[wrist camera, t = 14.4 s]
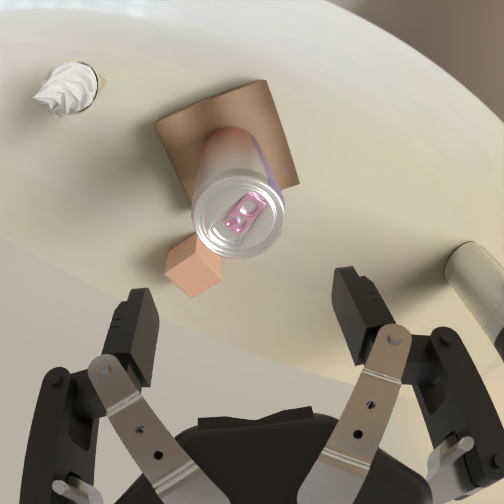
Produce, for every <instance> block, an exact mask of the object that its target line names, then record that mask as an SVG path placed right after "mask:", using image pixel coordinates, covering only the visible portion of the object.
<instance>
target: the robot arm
mask: <svg viewBox="0 0 504 504" xmlns="http://www.w3.org/2000/svg"><path fill="white" fill-rule="evenodd" d="M444 275H445V278H446V280H447V281H448V283H449V284H450V285H451V286H452V288H453V289H454V290H455V292H456V293H457V294H458V296H459V297H460V298H461V300H462V301H463V302H464V304H465V305H466V306H467V308H468V309H469V310H470V312H471V313H472V315H473V316H474V317H475V319H476V320H477V322H478V323H479V324H480V326H481V327H482V329H483V330H484V332H485V333H486V334H487V336H488V337H489V339H490V340H491V342H492V344H493V345H494V347H495V348H496V350H497V351H498V353H499V355H500V356H501V358H502V360H503V362H504V267H503V266H502V265H501V264H500V263H499V262H498V261H497V260H496V259H495V258H494V257H493V256H492V255H491V254H490V253H489V252H488V251H487V250H486V249H485V248H484V247H480V246H479V245H478V244H477V243H476V242H468V243H465V244H463V245H462V246H460V247H459V248H458V249H457V250H456V251H455V252H454V253H453V254H452V255H451V257H450V258H449V260H448V262H447V264H446V267H445V273H444ZM332 305H333V309H334V311H335V314H336V316H337V319H338V321H339V324H340V327H341V329H342V332H343V334H344V337H345V340H346V342H347V345H348V348H349V350H350V353H351V356H352V358H353V361H354V364H355V366H357V365H361V364H364V366H365V367H364V369H363V370H362V372H361V374H360V377H359V379H358V381H357V383H356V386H355V388H354V390H353V392H352V394H351V396H350V398H349V401H348V403H347V405H346V407H345V409H344V411H343V413H342V415H341V417H340V419H339V420H338V419H336V418H333V417H331V416H328V415H324V414H319V413H313V411H312V407H311V406H308V407H302V408H297V409H289V410H283V411H281V412H278V413H275V414H272V415H270V416H267V417H264V418H261V419H258V420H247V419H239V418H232V417H226V416H225V417H208V418H198V425H197V426H194V427H191V428H188V429H187V430H185V431H183V432H181V433H180V434H179V435H177V436H176V437H175V438H174V437H173V436H172V435H171V434H170V432H169V431H168V430H167V429H166V427H165V426H164V425H163V424H162V422H161V421H160V420H159V418H158V417H157V416H156V414H155V413H154V412H153V410H152V409H151V408H150V406H149V405H148V403H147V402H146V401H145V399H144V398H143V397H142V395H141V389H142V387H150V385H151V378H152V370H153V363H154V356H155V350H156V343H157V337H158V331H159V315H158V312H157V309H156V306H155V303H154V301H153V298H152V295H151V292H150V290H149V288H139V289H131V291H130V294H129V297H128V300H127V301H122V302H121V303H120V304H119V306H118V307H117V308H116V309H115V311H114V314H113V317H112V321H111V324H110V328H109V330H108V334H107V337H106V340H105V343H104V347H103V350H102V354H101V355H100V356H98V357H96V358H95V359H94V360H92V362H91V363H90V364H89V367H88V369H86V370H83V371H79V372H76V373H72V374H70V373H69V371H68V370H67V369H65V368H63V367H56V368H53V369H51V370H50V371H49V372H48V373H47V374H46V375H45V377H44V379H43V382H42V385H41V389H40V393H39V396H38V400H37V404H36V408H35V412H34V416H33V421H32V425H31V430H30V435H29V439H28V444H27V450H26V456H25V462H24V468H23V476H22V483H21V491H20V501H19V504H103V499H102V496H101V494H100V492H99V491H98V490H97V489H96V488H95V487H93V484H94V467H95V454H96V444H97V435H98V426H99V418H100V417H104V416H107V417H108V419H109V420H110V422H111V424H112V426H113V427H114V429H115V431H116V433H117V434H118V436H119V437H120V439H121V441H122V442H123V444H124V445H125V447H126V448H127V450H128V452H129V453H130V455H131V456H132V458H133V459H134V460H135V462H136V464H137V465H138V466H139V468H140V469H141V471H142V472H143V473H142V474H141V476H140V477H139V478H138V479H137V480H136V481H135V482H134V483H133V484H132V485H131V486H130V487H129V489H128V490H127V491H126V492H125V493H124V494H123V495H122V496H121V497H120V498H119V499H118V500H117V501H116V502H115V503H114V504H444V503H447V502H449V501H451V500H462V499H464V498H467V497H469V496H471V495H473V494H475V493H477V492H479V491H480V490H482V489H484V488H486V487H488V486H490V485H492V484H494V483H495V482H497V481H499V480H501V479H502V478H504V428H503V426H502V423H501V421H500V419H499V416H498V414H497V411H496V409H495V407H494V405H493V402H492V400H491V398H490V396H489V394H488V391H487V389H486V387H485V385H484V383H483V381H482V379H481V377H480V375H479V373H478V371H477V369H476V367H475V365H474V363H473V361H472V359H471V357H470V355H469V353H468V351H467V349H466V348H465V346H464V344H463V342H462V340H461V338H460V337H459V335H458V334H457V333H456V332H455V331H454V330H453V329H451V328H448V327H438V328H436V329H434V330H433V331H432V333H431V335H430V336H426V335H413V334H410V332H409V331H408V330H407V329H406V328H405V327H403V326H401V325H399V324H396V322H395V321H394V319H393V317H392V315H391V313H390V311H389V310H388V308H387V306H386V304H385V302H384V301H383V300H382V297H381V295H380V294H379V293H378V290H377V288H376V287H375V285H374V283H373V282H372V281H370V280H369V279H368V278H367V277H365V276H361V277H359V276H358V274H357V272H356V271H355V269H354V267H353V266H348V267H340V268H336V269H335V271H334V279H333V287H332ZM401 384H408V385H412V387H413V389H414V392H415V395H416V398H417V400H418V403H419V406H420V409H421V411H422V414H423V417H424V420H425V423H426V426H427V429H428V432H429V435H430V439H431V442H432V445H433V448H434V450H433V451H432V452H431V453H430V455H429V458H428V461H427V467H428V474H427V477H426V479H424V478H423V477H422V476H421V475H420V474H418V473H416V472H415V471H413V470H412V469H410V468H408V467H407V466H405V465H404V464H402V463H401V462H399V461H398V460H396V459H395V458H393V457H392V456H390V455H389V454H387V453H386V452H384V451H383V450H382V449H380V448H379V447H378V446H379V444H380V442H381V439H382V437H383V434H384V431H385V429H386V427H387V424H388V421H389V419H390V416H391V413H392V411H393V407H394V405H395V402H396V399H397V396H398V393H399V390H400V387H401Z"/></svg>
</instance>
